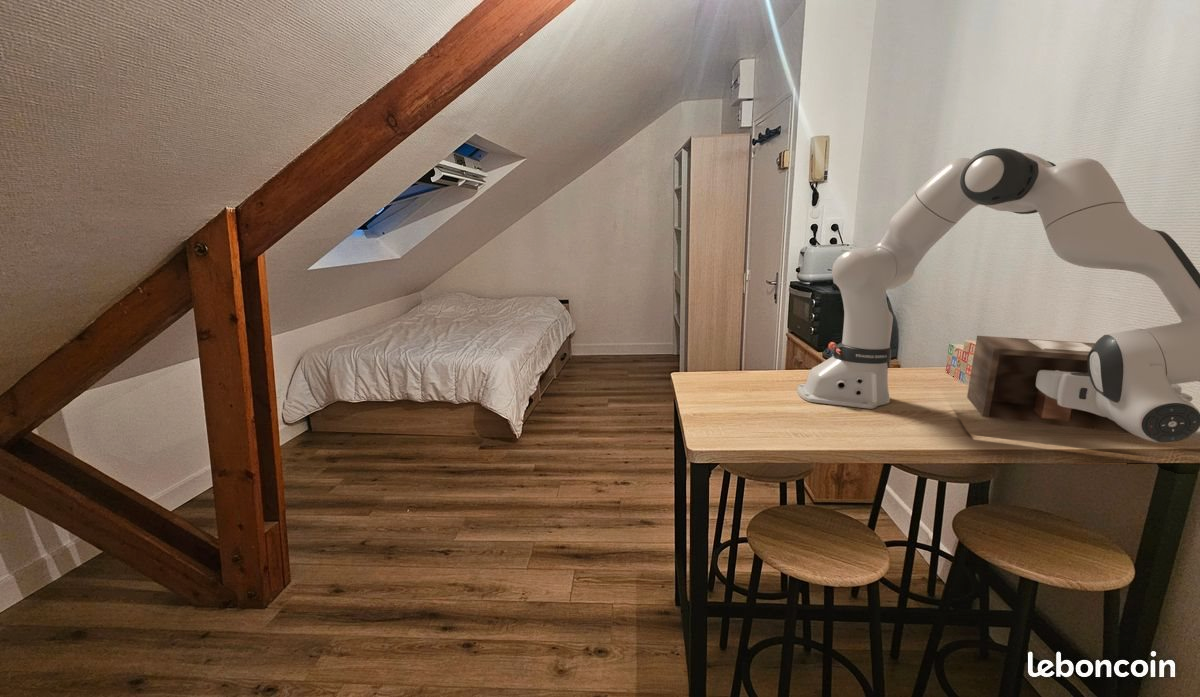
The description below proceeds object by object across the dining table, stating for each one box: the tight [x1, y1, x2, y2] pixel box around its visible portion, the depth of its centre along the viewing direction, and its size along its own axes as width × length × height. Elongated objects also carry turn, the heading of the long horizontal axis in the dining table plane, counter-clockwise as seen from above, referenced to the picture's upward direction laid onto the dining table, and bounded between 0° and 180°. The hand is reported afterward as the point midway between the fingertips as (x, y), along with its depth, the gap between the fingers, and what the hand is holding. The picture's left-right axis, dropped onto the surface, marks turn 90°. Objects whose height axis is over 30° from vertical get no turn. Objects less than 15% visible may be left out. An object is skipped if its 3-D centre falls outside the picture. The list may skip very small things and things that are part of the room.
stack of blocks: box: [945, 339, 976, 387], centre depth 150 cm, size 21×6×12 cm, turn 169°
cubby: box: [966, 335, 1131, 434], centre depth 121 cm, size 29×15×18 cm, turn 67°
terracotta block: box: [1034, 389, 1071, 421], centre depth 121 cm, size 5×5×10 cm
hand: (1087, 376), depth 108 cm, fingers open, 8 cm apart
